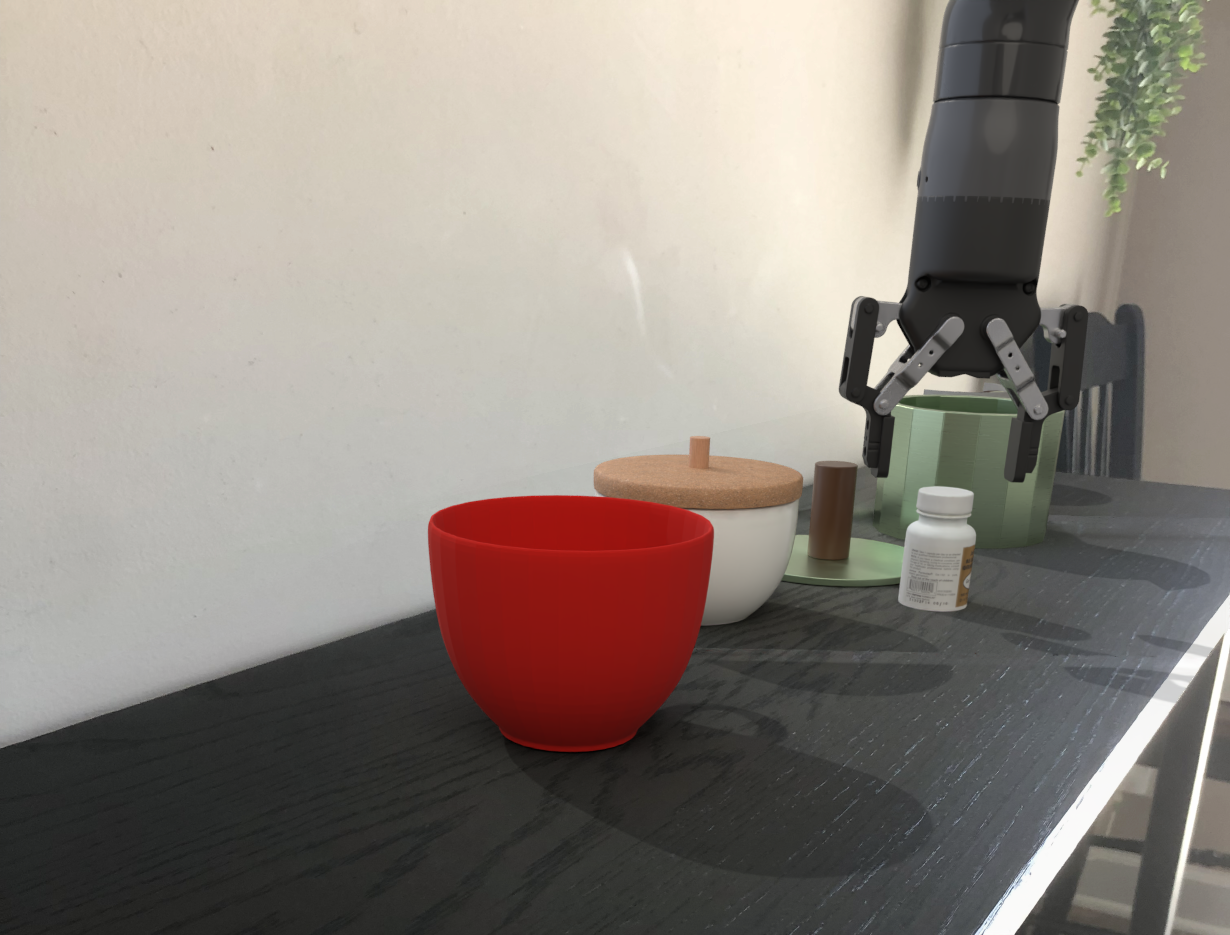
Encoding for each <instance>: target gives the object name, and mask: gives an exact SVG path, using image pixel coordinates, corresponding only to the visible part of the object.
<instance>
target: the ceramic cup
mask: <svg viewBox="0 0 1230 935" xmlns="http://www.w3.org/2000/svg"><path fill="white" fill-rule="evenodd" d="M713 544H714V527H713V526H712V524H711V522H710V521H709V520H708V519H706V518H705V517H703V516H702V515H699V514H697V513H694V512H692V511H689V510H685V509H682V508H678V507H674V506H669V505H664V504H659V503H654V502H647V501H640V500H632V499H622V498H612V497H597V496H596V495H595V496H594V495H572V494H571V495H570V494H569V495H568V494H567V495H566V494H565V495H563V494H550V495H549V494H548V495H547V494H546V495H544V494H541V495H540V494H539V495H518V496H517V495H516V496H504V497H493V498H484V499H479V500H472V501H467V502H462V503H458V504H454V505H450V506H447V507H445V508H442V509H439V510H438V511H436V512H435V513H433V514H432V515H431V516H430V518H429V521H428V524H427V546H428V547H427V548H428V558H429V569H430V578H431V585H432V586H431V587H432V594H433V601H434V607H435V612H436V617H437V622H438V626H439V629H440V634H441V638H442V641H443V643H444V644H443V645H444V646H445V649H446V653H447V655H448V657H449V659H450V662H451V664H452V666H453V669H454V671H455V672H456V675H457V677H458V679H459V680H460V682H461V684H462V685H463V687H464V688H465V691H467V693H468V695H469V696H470V697H471V699H472V700H473V701H474V702H475V704H476V705H477V706H478V707H479V708H480V710H481V711H482V712H483V713H484V714H485V715H486V716H487V717H488V718H489V719H490V720H491V721H492V722H493V723H494V724H495V725H496V726H497V727H498V729H499V731H500V733H501V734H502V736H504V737H505V738H506V739H508V740H510V741H512V742H513V743H516V744H518V745H521V746H523V747H527V748H532V749H536V750H540V751H548V752H560V753H578V752H579V753H582V752H583V753H584V752H593V751H600V750H605V749H610V748H614V747H618V746H619V745H623V744H625V743H627V742H629V741H630V740H632V739H633V738H634V737H635V736H636V735H637V732H638V730H639V729H640V728H641V727H642V726H643V725H644V724H646V722H648V721H649V720H650V718H652V717H653V716H654V715H655V713H657V711H659V709H660V708H661V707H662V706H663V705H664V703H666V702H667V700H668V699H669V697H670V696H671V695H672V693H673V692H674V690H675V689H676V687H677V686H678V684H679V683H680V681H681V679H682V677H683V675H684V673H685V672H686V670H687V667H688V665H689V662H690V660H691V658H692V655H693V652H694V650H695V646H696V644H697V640H698V637H699V634H700V630H701V626H702V625H701V622H702V618H703V614H704V609H705V603H706V598H707V592H708V585H709V578H710V571H711V563H712V554H713Z"/></svg>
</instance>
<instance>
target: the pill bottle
mask: <svg viewBox="0 0 1230 935" xmlns="http://www.w3.org/2000/svg"><path fill="white" fill-rule="evenodd" d="M973 499H974V493H973V492H972V491H969V490H965V489H960V488H953V487H940V486H934V487H923V488H921V489H919V491H918V498H917V505H916V507H917V508H918V509H917V510H916V512H917V513H918V514H919V520H918V521H915V522H913V523H911V524H910V525H909V526H908V528H907V531H906V537H905V540H904V546H903V547H904V554H903V563H902V571H901V580H900V584H899V589H898V598H897V602H898V603H899V604H900V605H903V606H905V607H908V608H911V609H915V610H921V611H929V612H957V611H961V610H964V609H966V608H967V606H968V600H969V591H970V584H971V576H972V570H973V563H974V557H975V556H974V555H975V550H976V548H975V542H976V532H975V530H974V529H973V528H972V527H971V526H970V525H968V524H967V518H968V517H970V516H971V511H972V507H973Z"/></svg>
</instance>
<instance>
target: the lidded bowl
mask: <svg viewBox="0 0 1230 935" xmlns="http://www.w3.org/2000/svg"><path fill="white" fill-rule="evenodd" d="M688 449H689V451H688V454H648V455H647V454H645V455H633V456H625V457H619V458H618V457H617V458H614V459H610V460H606V461H603V462H600V463H599V464H597V466H596V467H594V469H593V489H594V490H595V496H597V497H612V498H622V499H632V500H640V501H647V502H654V503H659V504H664V505H669V506H674V507H678V508H682V509H685V510H689V511H692V512H694V513H697V514H699V515H702V516H703V517H705V518H706V519H708V520H709V521H710V522H711V524H712V526H713V527H714V544H713V554H712V563H711V571H710V578H709V585H708V592H707V598H706V603H705V609H704V614H703V618H702V622H701V626H720V625H727V624H733V623H736V622H741V621H743V620H745V619H747V618H749V616H751V615H752V614H753V613H755V612H756V611H757V610H759V608H761V606H763V605H764V604H765V603H766V602H767V601H768V600H769V599H770V598H771V597H772V595H773V594H774V592H775V591H776V590H777V588H778V587H779V585H780V584H781V582H782V581H781V580H782V578H783V576H784V574H785V572H786V569H787V566H788V563H789V560H790V557H791V554H792V549H793V545H794V540H795V535H797V528H798V527H797V526H798V518H799V510H800V509H799V508H800V499H801V497H802V495H803V488H804V477H803V474H802V473H801V472H799V471H798V470H796V469H795V468H792V467H790V466H786V465H783V464H779V463H775V462H770V461H765V460H758V459H753V458H746V457H745V458H743V457H735V456H725V455H724V456H722V455H711V454H710V449H711V437H710V436H706V435H694V436H693V435H691V436H690V437H689V448H688Z"/></svg>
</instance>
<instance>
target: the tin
mask: <svg viewBox="0 0 1230 935" xmlns="http://www.w3.org/2000/svg"><path fill="white" fill-rule="evenodd" d="M1065 412H1066V410H1063V411H1060V412H1057V413H1054V414H1051V415H1050V416H1048V417H1047V418H1046V419H1045V420H1044V422H1043V425H1042V431H1041V437H1040V444H1039V448H1038V455H1037V463H1036V466H1035V468H1034V470H1033V472H1032V473H1026V476H1025V480H1024V482H1023V483H1016V482H1010V481H1008V480H1006V479H1005V478H1004V468H1005V461H1006V454H1007V447H1008V440H1009V434H1010V427H1011V420H1012V417H1013V418H1017V413H1018V411H1017V409H1016V407H1015V405H1014V404H1013V402H1012V400H1011V398H1000V397H986V396H971V395H969V396H968V395H923V394H908V395H907V394H906V395H905V396H904V397H903V398H902V399H901V400H900V402H899V403H898V404H897V405H896V406H895V407H894V409H893V410H892V411H891V415H892V416H894V417H895V422H894V431H893V440H892V449H891V458H890V467H889V474H888V477H887V478H877V479H876V487H875V488H876V489H875V498H874V505H873V506H874V507H873V517H872V527H873V528H875V530H876V531H877V532H878V533H880V534H883V535H886V536H889V537H892V538H895V539H897V540H902V541H905V537H906V531H907V528H908V526H909V525H910V524H911V523H913V522H915V521H918V520H919V514H918V513H917V512H916V510H917V509H918V508H917V507H916V505H917V498H918V491H919V489H921V488H923V487H934V486H940V487H953V488H960V489H965V490H969V491H972V492H973V493H974V499H973V507H972V511H971V516H970V517H968V518H967V524H968V525H970V526H971V527H972V528H973V529H974V530H975V532H976V542H975V549H978V550H979V549H981V550H983V549H985V550H986V549H987V550H992V549H993V550H1002V549H1017V548H1027V547H1031V546H1034V545H1037V544H1041V543H1043V541H1044V540H1045V537H1046V534H1047V528H1048V521H1049V515H1050V509H1051V502H1052V495H1053V489H1054V484H1055V483H1054V482H1055V476H1056V470H1057V464H1058V458H1059V452H1060V444H1061V438H1062V432H1063V425H1064V419H1065Z"/></svg>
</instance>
